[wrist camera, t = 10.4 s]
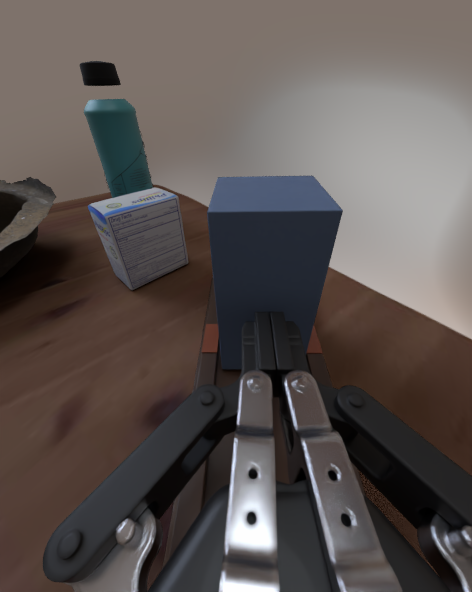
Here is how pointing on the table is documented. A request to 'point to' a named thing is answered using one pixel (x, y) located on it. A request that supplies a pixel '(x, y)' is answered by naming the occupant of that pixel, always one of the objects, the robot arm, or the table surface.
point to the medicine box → (141, 234)
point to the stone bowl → (21, 218)
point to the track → (220, 460)
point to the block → (269, 253)
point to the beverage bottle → (115, 134)
